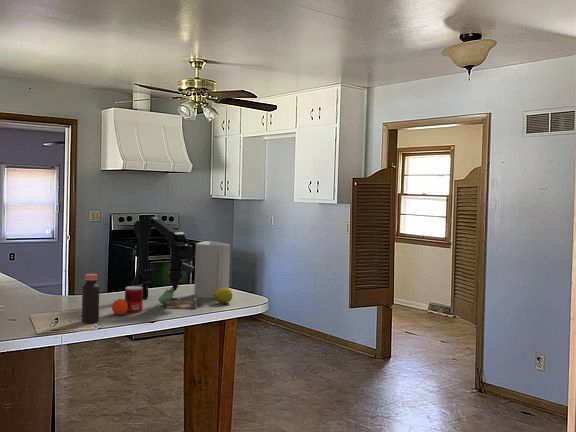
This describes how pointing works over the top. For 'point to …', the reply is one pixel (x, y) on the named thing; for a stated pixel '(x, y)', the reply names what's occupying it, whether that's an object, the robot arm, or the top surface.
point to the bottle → (167, 296)
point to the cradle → (181, 304)
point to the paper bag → (211, 268)
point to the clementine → (120, 306)
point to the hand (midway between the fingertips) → (175, 289)
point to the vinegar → (90, 299)
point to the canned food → (134, 298)
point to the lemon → (223, 295)
